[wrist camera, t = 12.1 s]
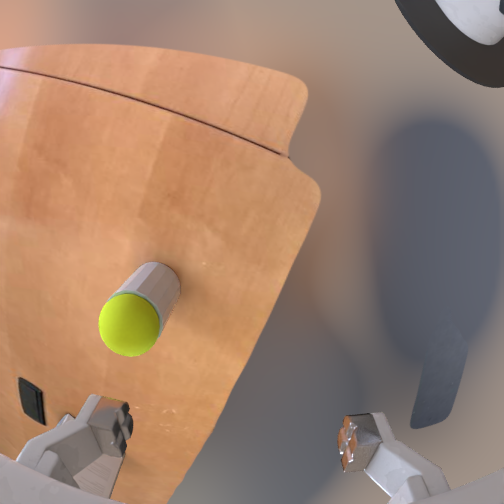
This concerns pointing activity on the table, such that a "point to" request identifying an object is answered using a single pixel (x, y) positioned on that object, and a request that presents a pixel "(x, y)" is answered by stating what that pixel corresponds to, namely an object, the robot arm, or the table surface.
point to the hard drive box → (98, 472)
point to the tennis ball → (129, 325)
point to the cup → (154, 289)
